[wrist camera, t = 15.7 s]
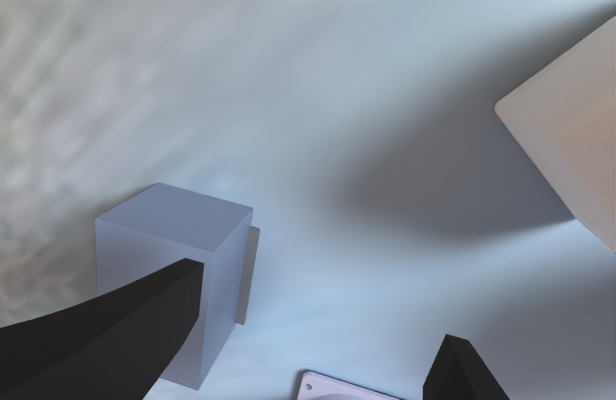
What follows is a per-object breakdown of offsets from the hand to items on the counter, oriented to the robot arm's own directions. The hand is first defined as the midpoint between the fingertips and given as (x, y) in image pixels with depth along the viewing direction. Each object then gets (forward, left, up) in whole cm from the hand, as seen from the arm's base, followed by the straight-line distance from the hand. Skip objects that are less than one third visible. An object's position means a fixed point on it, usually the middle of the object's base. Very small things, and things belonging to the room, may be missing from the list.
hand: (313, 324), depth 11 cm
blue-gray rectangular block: (-6, +8, -10) cm, 14 cm away
